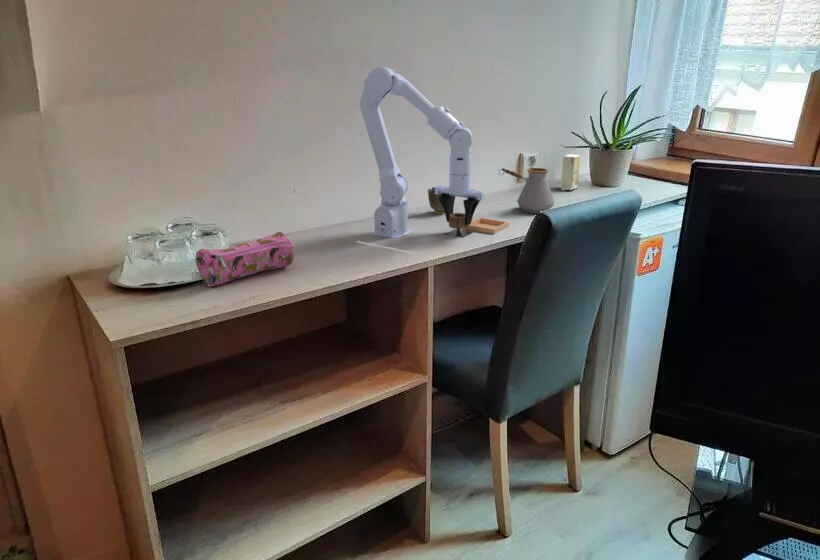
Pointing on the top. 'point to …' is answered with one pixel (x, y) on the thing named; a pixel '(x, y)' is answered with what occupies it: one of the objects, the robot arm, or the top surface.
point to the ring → (457, 221)
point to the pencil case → (244, 259)
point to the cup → (435, 202)
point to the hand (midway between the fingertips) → (458, 222)
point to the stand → (459, 233)
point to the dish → (487, 225)
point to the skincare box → (570, 172)
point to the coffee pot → (534, 191)
